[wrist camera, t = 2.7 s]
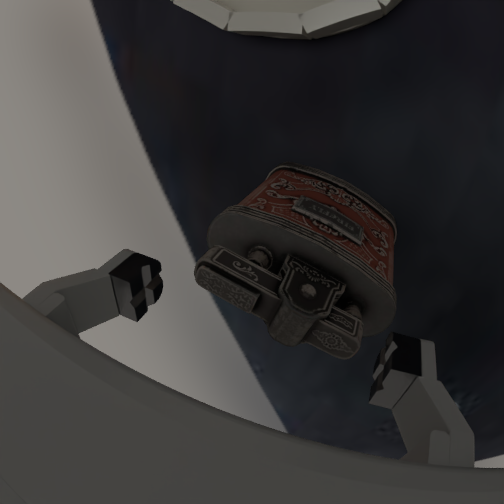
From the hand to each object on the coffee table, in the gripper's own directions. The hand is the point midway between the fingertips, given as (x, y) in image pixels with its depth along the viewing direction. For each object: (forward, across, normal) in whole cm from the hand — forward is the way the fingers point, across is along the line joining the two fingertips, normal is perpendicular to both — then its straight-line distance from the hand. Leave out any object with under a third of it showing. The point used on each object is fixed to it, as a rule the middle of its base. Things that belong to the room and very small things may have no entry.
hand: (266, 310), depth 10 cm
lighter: (+10, -1, 0) cm, 10 cm away
